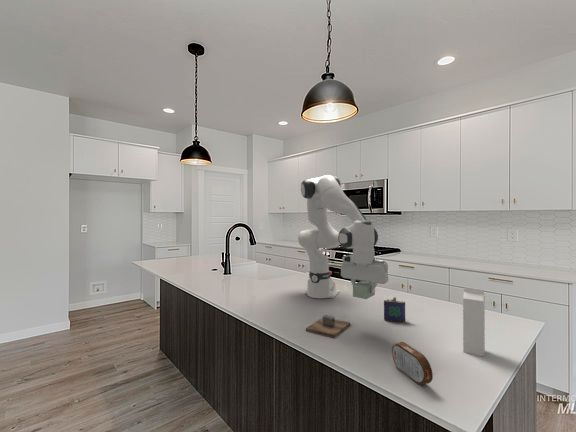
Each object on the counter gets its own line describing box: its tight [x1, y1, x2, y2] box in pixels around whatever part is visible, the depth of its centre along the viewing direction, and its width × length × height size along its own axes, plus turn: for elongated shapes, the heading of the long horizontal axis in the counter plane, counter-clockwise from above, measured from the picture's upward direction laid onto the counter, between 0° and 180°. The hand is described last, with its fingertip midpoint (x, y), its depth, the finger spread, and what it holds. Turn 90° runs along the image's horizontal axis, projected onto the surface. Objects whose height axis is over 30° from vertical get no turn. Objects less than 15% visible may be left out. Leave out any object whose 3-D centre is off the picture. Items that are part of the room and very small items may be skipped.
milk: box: [462, 287, 486, 357], centre depth 104 cm, size 6×6×22 cm
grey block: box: [322, 314, 336, 327], centre depth 126 cm, size 2×4×5 cm, turn 56°
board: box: [305, 317, 351, 339], centre depth 126 cm, size 16×13×1 cm
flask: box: [383, 296, 407, 323], centre depth 134 cm, size 9×3×11 cm, turn 74°
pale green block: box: [352, 281, 376, 300], centre depth 125 cm, size 6×8×5 cm
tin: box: [391, 341, 434, 386], centre depth 88 cm, size 15×3×8 cm, turn 17°
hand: (363, 291), depth 125 cm, fingers closed on pale green block, 6 cm apart
